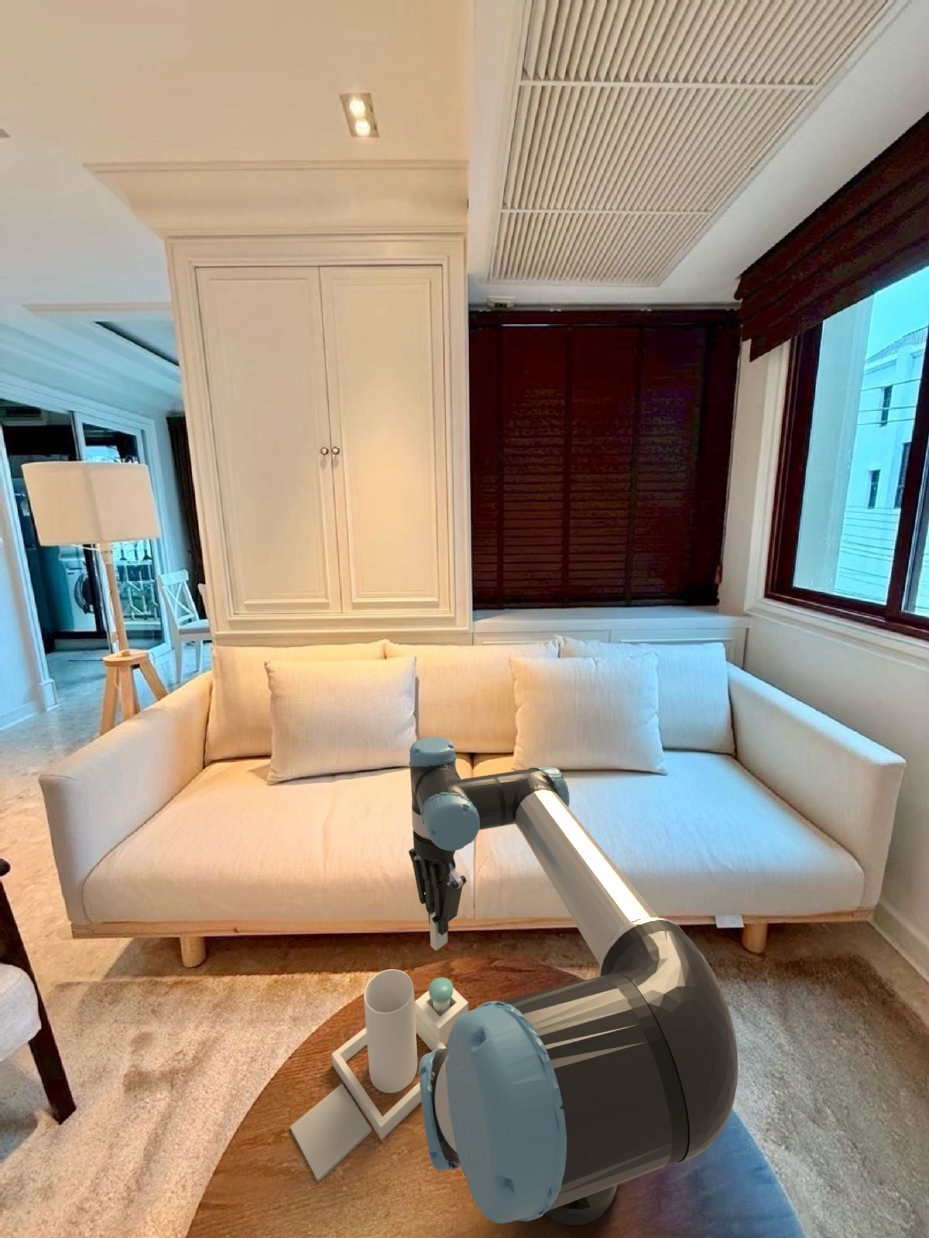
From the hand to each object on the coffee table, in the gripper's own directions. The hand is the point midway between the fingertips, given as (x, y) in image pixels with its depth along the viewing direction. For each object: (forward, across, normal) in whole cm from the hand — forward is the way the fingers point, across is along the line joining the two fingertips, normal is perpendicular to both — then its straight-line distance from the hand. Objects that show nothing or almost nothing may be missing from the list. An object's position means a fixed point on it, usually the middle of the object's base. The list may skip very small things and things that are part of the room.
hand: (439, 943), depth 94 cm
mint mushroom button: (+14, 0, 0) cm, 14 cm away
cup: (+18, 0, +11) cm, 21 cm away
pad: (+18, -1, +24) cm, 29 cm away
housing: (+18, 0, +8) cm, 19 cm away
